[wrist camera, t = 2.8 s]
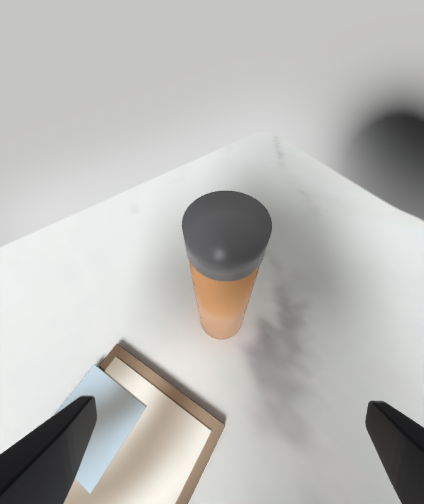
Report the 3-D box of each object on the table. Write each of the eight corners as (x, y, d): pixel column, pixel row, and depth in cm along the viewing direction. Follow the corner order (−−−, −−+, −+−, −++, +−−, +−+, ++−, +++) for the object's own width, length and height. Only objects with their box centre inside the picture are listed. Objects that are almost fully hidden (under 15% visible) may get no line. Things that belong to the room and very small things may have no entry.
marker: (250, 310, 23) (286, 210, 11) (229, 348, 21) (245, 276, 9) (214, 290, 24) (212, 180, 12) (191, 324, 22) (163, 233, 11)
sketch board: (224, 425, 18) (225, 425, 17) (47, 794, 11) (36, 819, 10) (116, 343, 21) (113, 341, 21) (-74, 582, 14) (-89, 591, 14)
